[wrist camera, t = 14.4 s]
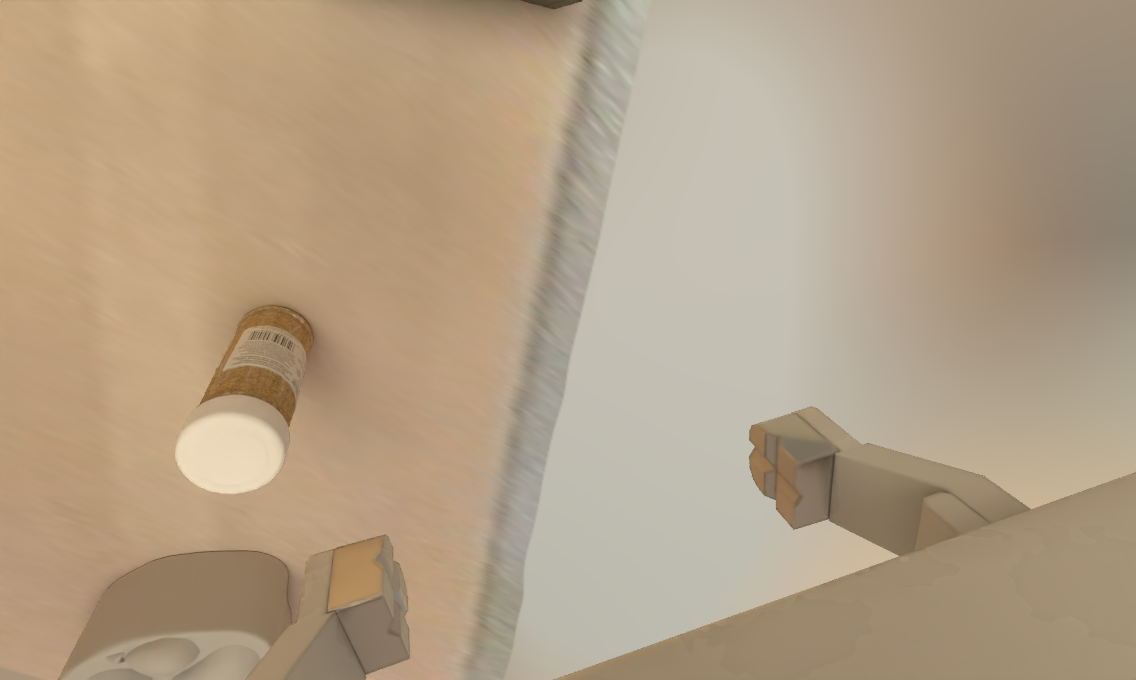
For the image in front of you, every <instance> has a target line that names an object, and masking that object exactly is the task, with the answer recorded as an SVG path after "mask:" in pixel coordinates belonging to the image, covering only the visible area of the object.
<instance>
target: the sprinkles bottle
mask: <svg viewBox="0 0 1136 680" xmlns="http://www.w3.org/2000/svg"><path fill="white" fill-rule="evenodd" d="M312 343H313V336H312V331H311V329H310V327H309V325H308V323H307V322H306V321H305V319H304V318H303V317H302V316H301V315H299V314H297V313H296V312H294V311H292V310H289V309H287V308H284V307H278V306H266V307H261V308H257V309H255V310H253V311H251V312H250V313H248V314H246V315H245V316H244V318H243V319H242V320H241V322H240V323H239V325H238V329H237V332H236V336H235V337H234V339H233V341H231V342H230V344H229V345H228V347H227V349H226V351H225V353H224V355H223V356H222V358H221V360H220V362H219V364H218V366H217V368H216V371H215V374H214V376H213V378H212V380H211V382H210V384H209V386H208V388H207V390H206V392H205V395H204V397H203V399H202V401H201V403H200V405H199V406H198V407H197V408H195V409H194V410H193V411H192V412H191V414H190V415H189V416H188V418H187V420H186V422H185V423H184V425H183V427H182V429H181V432H180V434H179V436H178V439H177V441H176V445H175V459H176V463H177V465H178V467H179V469H180V470H181V472H182V473H183V475H184V476H185V477H186V478H187V479H189V480H190V481H191V482H192V483H194V484H195V485H197V486H199V487H201V488H203V489H206V490H209V491H212V492H216V493H222V494H239V493H245V492H249V491H253V490H255V489H258V488H260V487H262V486H264V485H266V484H267V483H269V482H270V481H271V480H272V479H273V478H274V477H275V476H276V475H277V474H278V473H279V471H280V470H281V468H282V466H283V464H284V461H285V457H286V454H287V450H288V446H289V441H290V432H289V426H290V421H291V419H292V416H293V413H294V411H295V408H296V403H297V399H298V395H299V392H300V388H301V384H302V380H303V376H304V372H305V368H306V361H307V356H308V354H309V353H310V351H311V348H312Z"/></svg>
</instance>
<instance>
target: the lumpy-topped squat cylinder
mask: <svg viewBox="0 0 1136 680" xmlns="http://www.w3.org/2000/svg"><path fill="white" fill-rule="evenodd" d="M288 577H289V576H288V570H287V568H286V566H285V565H284V564H283V563H282V562H281V561H280V560H278V559H277V558H275V557H273V556H270V555H268V554H264V553H260V552H253V551H216V552H201V553H191V554H183V555H176V556H170V557H165V558H161V559H157V560H155V561H152V562H150V563H148V564H146V565H143V566H141V567H139V568H137V569H135V570H134V571H132V572H130V573H128V574H126V575H125V576H123V577H121V578H120V579H118V580H117V581H116V582H115V583H113V584H112V585H111V586H110V587H109V588H108V590H107V591H106V592H105V593H104V594H103V596H102V597H101V599H100V600H99V602H98V604H97V606H96V608H95V610H94V612H93V614H92V616H91V617H90V619H89V621H88V623H87V625H86V627H85V629H84V631H83V633H82V634H81V636H80V638H79V640H78V642H77V644H76V646H75V648H74V650H73V652H72V653H71V655H70V657H69V659H68V661H67V663H66V665H65V667H64V669H63V671H62V673H61V675H60V677H59V679H58V680H245V679H246V678H247V677H248V675H249V674H250V673H251V672H252V670H253V669H254V668H255V667H256V666H257V664H258V663H259V662H260V661H261V659H262V658H263V657H264V656H265V654H266V653H267V652H268V651H269V649H270V648H271V647H272V646H273V644H274V643H275V642H276V641H277V639H278V638H279V637H280V636H281V634H282V633H283V632H284V631H285V629H286V628H287V627H288V626H289V625H290V624H291V611H290V608H289V605H288V601H287V585H288Z"/></svg>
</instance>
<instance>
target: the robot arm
mask: <svg viewBox="0 0 1136 680" xmlns="http://www.w3.org/2000/svg"><path fill="white" fill-rule="evenodd" d="M749 434H750V436H749V440H750V441H751V443H752V444H753V445H754V446H755V448H754V449H753V451H752V453H751V454H750V456H749V460H750V470H751V473H752V477H753V480H754V481H755V483H756V485H757V487H758V488H759V490H760V491H761V492H762V493H763V494H764V495H765V496H767V497H769V498H772V499H775V500H776V510H777V511H778V512H779V513H780V514H781V515H782V517H783V518H784V519H785V520H786V521H787V522H788V524H789V525H790V526H791V527H792V528H793V529H798V528H801V527H804V526H807V525H811V524H814V523H818V522H821V521H824V520H827V519H829V521H831V522H833V523H835V524H836V525H838V526H840V527H842V528H844V529H846V530H848V531H850V532H852V533H854V534H856V535H859V536H860V537H863V538H865V539H866V540H868V541H871V542H872V543H875V544H876V545H878V546H880V547H883V548H884V549H887V550H889V551H891V552H893V553H895V554H897V555H899V557H897V558H894V559H891V560H888V561H885V562H883V563H880V564H877V565H874V566H872V567H869V568H866V569H863V570H860V571H857V572H855V573H852V574H849V575H846V576H844V577H841V578H838V579H835V580H832V581H830V582H827V583H824V584H821V585H819V586H815V587H813V588H810V589H807V590H804V591H801V592H799V593H796V594H793V595H790V596H787V597H784V598H782V599H779V600H776V601H773V602H770V603H768V604H765V605H762V606H759V607H756V608H753V609H751V610H748V611H745V612H742V613H739V614H737V615H734V616H731V617H728V618H725V619H722V620H720V621H717V622H714V623H711V624H708V625H706V626H703V627H700V628H697V629H695V630H692V631H689V632H686V633H683V634H680V635H678V636H675V637H672V638H669V639H666V640H664V641H661V642H658V643H655V644H652V645H650V646H647V647H644V648H641V649H639V650H636V651H633V652H630V653H628V654H625V655H622V656H619V657H616V658H613V659H611V660H608V661H605V662H602V663H599V664H596V665H594V666H591V667H588V668H585V669H582V670H580V671H577V672H574V673H571V674H568V675H566V676H563V677H560V678H557V679H555V680H1136V472H1135V473H1132V474H1129V475H1127V476H1124V477H1121V478H1118V479H1115V480H1113V481H1110V482H1107V483H1104V484H1101V485H1098V486H1096V487H1093V488H1090V489H1087V490H1084V491H1082V492H1079V493H1076V494H1073V495H1070V496H1068V497H1065V498H1062V499H1059V500H1057V501H1054V502H1051V503H1049V504H1045V505H1042V506H1040V507H1037V508H1034V509H1030V508H1028V507H1027V506H1026V505H1024V504H1023V503H1021V502H1020V501H1019V500H1017V499H1016V498H1014V497H1013V496H1011V495H1010V494H1009V493H1007V492H1006V491H1004V490H1003V489H1002V488H1000V487H999V486H997V485H996V484H995V483H993V482H992V481H990V480H989V479H988V478H986V477H985V476H983V475H979V474H975V473H972V472H968V471H965V470H961V469H958V468H954V467H950V466H947V465H944V464H940V463H937V462H933V461H930V460H926V459H922V458H919V457H915V456H912V455H908V454H905V453H901V452H898V451H894V450H891V449H887V448H884V447H880V446H876V445H873V444H869V443H867V444H863V445H862V444H860V443H859V442H858V441H857V440H856V439H854V438H853V437H852V436H850V435H849V434H848V433H847V432H846V431H844V430H843V429H842V428H841V427H840V426H838V425H837V424H836V423H834V422H833V421H832V420H831V419H830V418H829V417H827V416H826V415H825V414H824V413H822V412H821V411H820V410H819V409H817V408H815V407H808V408H805V409H802V410H799V411H795V412H793V413H791V414H787V415H784V416H781V417H778V418H774V419H771V420H768V421H765V422H761V423H758V424H755V425H752V426H751V429H750V431H749ZM407 612H408V596H407V590H406V584H405V580H404V576H403V573H402V570H401V567H400V564H399V563H397V562H395V561H393V547H392V544H391V542H390V540H389V537H388V536H387V535H381V536H378V537H374V538H370V539H367V540H363V541H359V542H356V543H352V544H348V545H345V546H341V547H337V548H336V549H332V550H328V551H325V552H321V553H317V554H314V555H310V557H309V558H308V560H307V562H306V567H305V573H304V579H303V585H302V591H301V597H300V603H299V609H298V615H297V621H296V623H295V624H292V625H289V626H288V627H287V628H286V629H285V631H284V632H283V633H282V634H281V636H280V637H279V638H278V639H277V641H276V642H275V643H274V644H273V646H272V647H271V648H270V649H269V651H268V652H267V653H266V654H265V656H264V657H263V658H262V659H261V661H260V662H259V663H258V664H257V666H256V667H255V668H254V669H253V670H252V672H251V673H250V674H249V675H248V677H247V678H246V679H245V680H365V679H366V674H369V673H372V672H374V671H377V670H380V669H383V668H385V667H388V666H391V665H394V664H396V663H399V662H402V661H405V660H407V659H410V644H409V628H408V625H407V623H406V620H405V617H404V616H405V615H406V613H407Z"/></svg>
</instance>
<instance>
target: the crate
mask: <svg viewBox="0 0 1136 680" xmlns="http://www.w3.org/2000/svg"><path fill="white" fill-rule="evenodd" d="M522 1H525V2H529V3H533V4H537V5H540V6H544V7H548V8H551V9H556V8H560V7H563V6H567V5H571V4H574V3H578V2H581V1H582V0H522Z"/></svg>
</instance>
